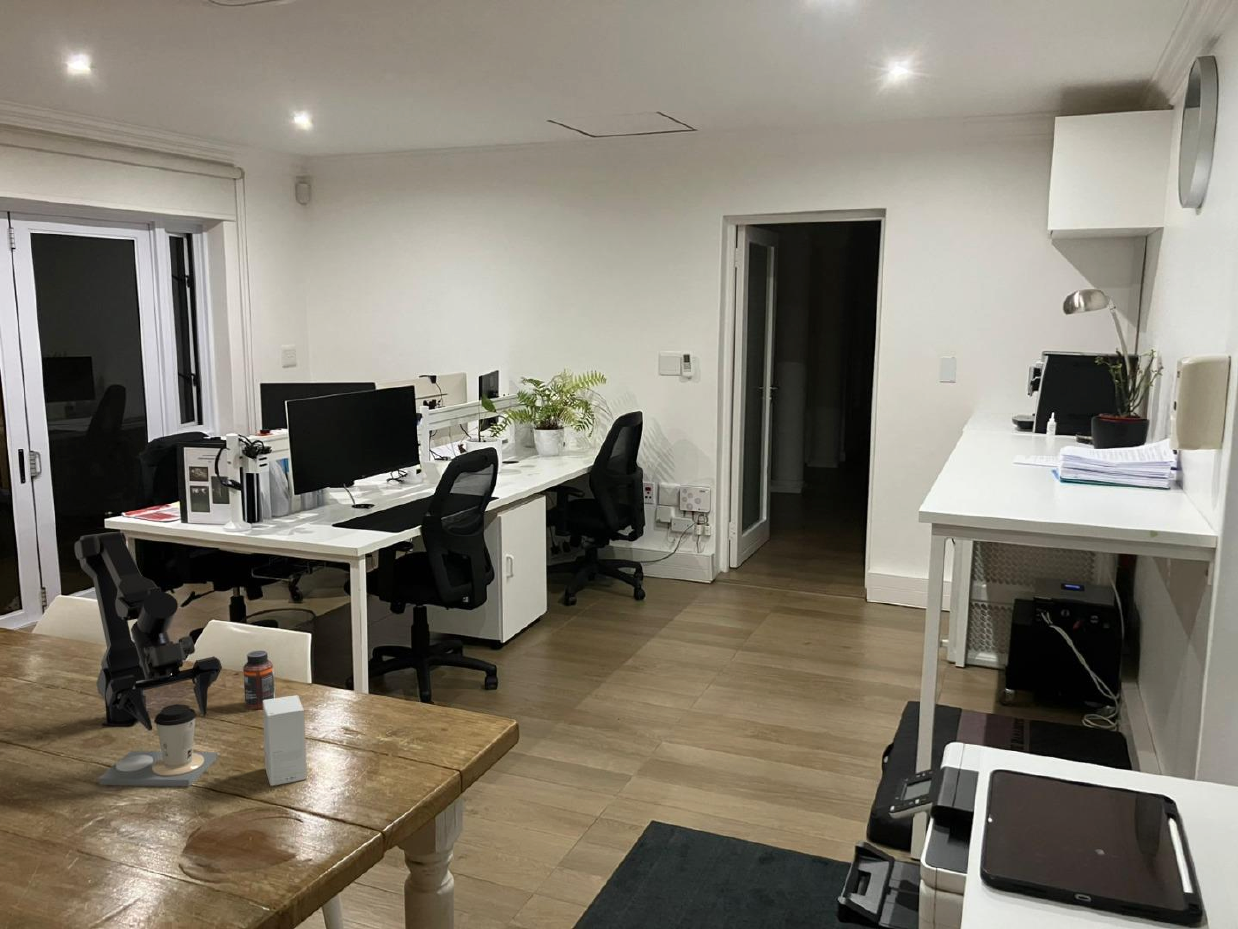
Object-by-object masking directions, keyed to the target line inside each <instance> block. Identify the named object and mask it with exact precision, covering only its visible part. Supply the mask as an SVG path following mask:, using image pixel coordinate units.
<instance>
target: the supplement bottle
mask: <svg viewBox="0 0 1238 929" xmlns="http://www.w3.org/2000/svg"><path fill="white" fill-rule="evenodd" d="M246 658H247V659H246V660H247V662H246V663H245V664H244V665H243V668H242V670H243V671H242V672H243V675H242V676H243V688H244V704H245V706H246V708H248V709H252V710H258V709H263V700H267V699H274V698H275V697H276V696H275V683H274V682H275V680H274V666H273V662H272V661H270V660H269V659H268V658H269V657H268V652H267V651H266V650H253V651H251V652H249V653H247V655H246Z"/></svg>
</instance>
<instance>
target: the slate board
mask: <svg viewBox="0 0 1238 929" xmlns="http://www.w3.org/2000/svg"><path fill="white" fill-rule="evenodd" d="M217 759H218V754H217V752H216V751H214V752H213V751H193V755H192V762H191V763H190V764H189V765H187V766H184V767H181V768H167V767H165V766H164V762H163V757H162V752H161V750H158V751H157V750H130V751H129V752H128V753H126V755H124V756H123V757H122V758H121V759H119V761H117V762H116V763H115V764H114V765H112V767H110V768H109V769H108V770H106V771H105V772H104V773H103V774H102V775H100V776H99V777H98V785H100V786H132V787H133V786H141V787H142V786H144V787H185V786H188V788H189V787H191V786H192V785H193V783H195V782H196V780H197V779H198V778H199V777H201V775H202V774H203V773H204V772H206V770H208V769H209V767H210V766H211V765H212V764H213V763H214V762H215V761H216V760H217Z"/></svg>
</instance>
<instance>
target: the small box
mask: <svg viewBox="0 0 1238 929" xmlns="http://www.w3.org/2000/svg"><path fill="white" fill-rule="evenodd" d="M262 720H263V723H262V724H263V739H264V740H263V742H264V768H265V772H266V775H267V776H266V777H267V779H268V783H269V785H270V786H271V787H274V786H278V785H284V784H289V783H294V782H295V783H296V782H298V781H303V780H307V779H308V770H307V769H308V768H307V748H306V743H307V742H306V722H305V708H304V706H303V703H302V701H301V699H300V697H299V695H296V694H295V695H289V696H283V697H282V696H281V697H276V698H274V699H267V700H263V708H262Z"/></svg>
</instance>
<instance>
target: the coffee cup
mask: <svg viewBox="0 0 1238 929" xmlns="http://www.w3.org/2000/svg"><path fill="white" fill-rule="evenodd" d="M197 716H198V715H197V712H196V711H195V709H193V708H191V707H190V706H189V705H188V704H187V705H185V704H179V703H178V704H177V703H176V704H171V705H167V706H165V707H163V708H162V709H161V710H160V712H158V714H156V715H155V718H154V721H153V722H154V724H155V726H156V731H157V732H156V733H157V736H158V737H157V738H158V740H159V746H160V751H161V752H162V757H163V762H164V766H165V767H167V768H181V767H184V766H187V765H189V764H190V763H191V762H192V755H193V752H194V749H193V748H194V739H195V728H196V727H195V726H196V718H197Z"/></svg>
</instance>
